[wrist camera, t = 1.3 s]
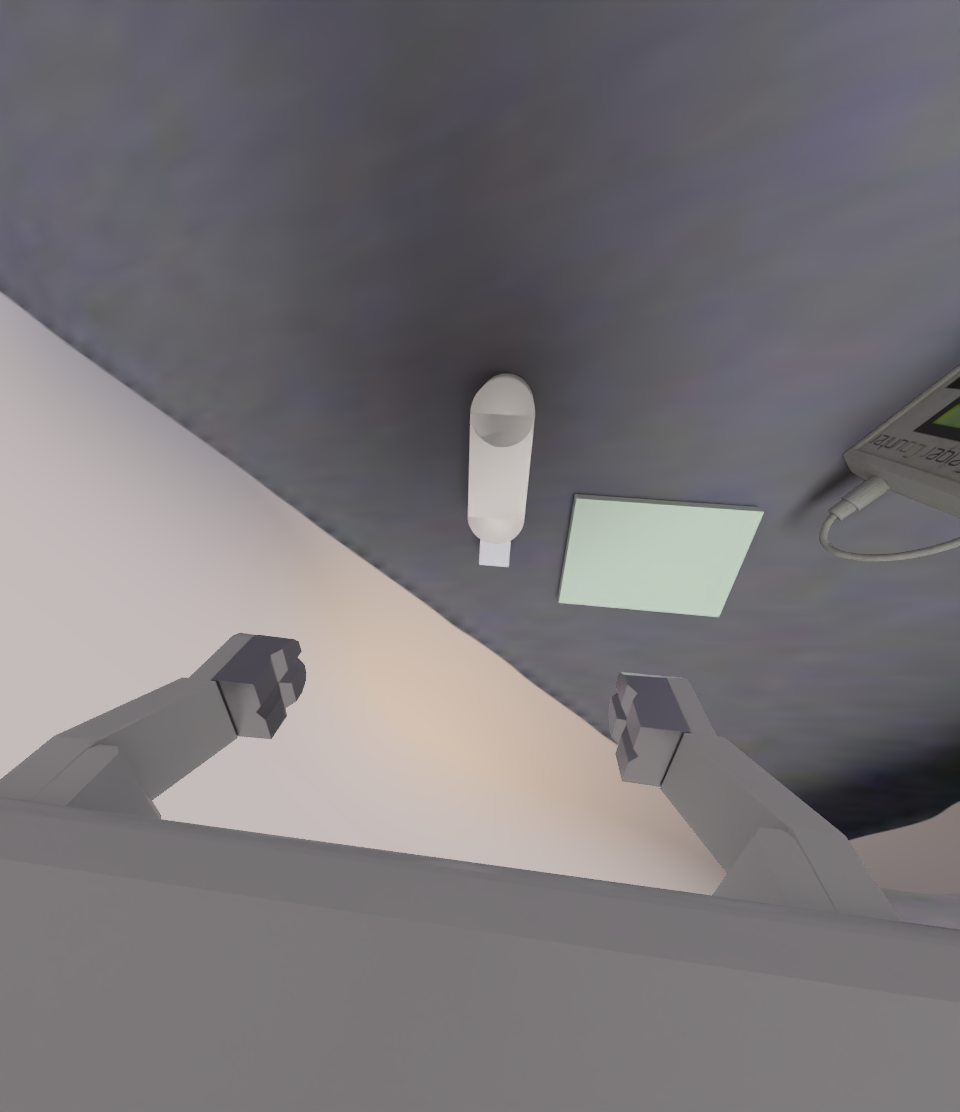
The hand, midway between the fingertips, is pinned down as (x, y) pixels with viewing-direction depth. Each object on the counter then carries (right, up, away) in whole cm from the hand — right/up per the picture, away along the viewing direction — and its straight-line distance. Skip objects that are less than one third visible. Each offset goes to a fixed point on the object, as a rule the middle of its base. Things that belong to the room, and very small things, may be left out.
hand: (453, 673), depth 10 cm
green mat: (+15, +3, +23) cm, 28 cm away
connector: (+2, +10, +21) cm, 23 cm away
